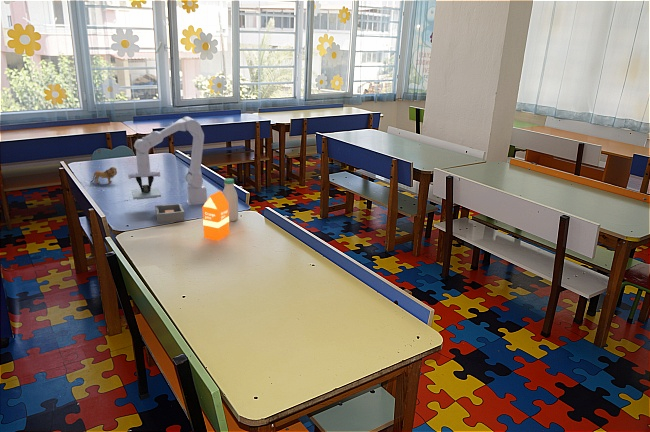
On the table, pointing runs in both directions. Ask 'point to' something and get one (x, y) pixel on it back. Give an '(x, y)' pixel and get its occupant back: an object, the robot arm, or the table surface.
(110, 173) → the lion figurine
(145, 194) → the lid
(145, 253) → the table surface
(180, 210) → the storage box
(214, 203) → the orange juice
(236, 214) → the milk bottle
